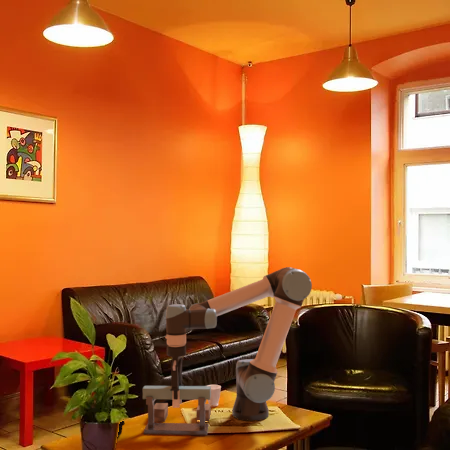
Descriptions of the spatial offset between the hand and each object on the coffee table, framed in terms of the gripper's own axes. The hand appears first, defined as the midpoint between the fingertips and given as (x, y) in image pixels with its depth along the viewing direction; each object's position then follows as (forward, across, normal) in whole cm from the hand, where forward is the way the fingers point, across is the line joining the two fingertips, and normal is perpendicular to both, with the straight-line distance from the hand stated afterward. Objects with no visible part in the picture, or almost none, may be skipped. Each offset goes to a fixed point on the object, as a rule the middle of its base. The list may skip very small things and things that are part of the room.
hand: (177, 405), depth 224 cm
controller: (+10, +7, -22) cm, 25 cm away
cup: (+10, -32, +10) cm, 35 cm away
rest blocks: (+10, -14, 0) cm, 17 cm away
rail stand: (+10, 0, 0) cm, 10 cm away
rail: (-3, 0, 0) cm, 3 cm away
